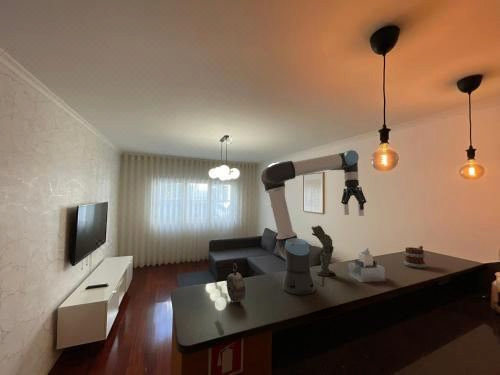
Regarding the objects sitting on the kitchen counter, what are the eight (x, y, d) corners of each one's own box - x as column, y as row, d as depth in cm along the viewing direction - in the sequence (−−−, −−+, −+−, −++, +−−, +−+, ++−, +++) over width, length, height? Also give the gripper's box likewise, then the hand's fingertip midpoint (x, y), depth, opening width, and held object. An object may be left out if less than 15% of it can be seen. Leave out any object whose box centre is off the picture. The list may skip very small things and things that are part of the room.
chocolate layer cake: (398, 265, 138) (399, 242, 140) (412, 266, 143) (412, 244, 145) (418, 270, 127) (419, 245, 129) (432, 271, 132) (432, 247, 134)
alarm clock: (246, 307, 83) (245, 265, 85) (234, 310, 81) (233, 267, 82) (235, 296, 93) (235, 259, 94) (224, 299, 90) (224, 261, 92)
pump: (365, 266, 113) (363, 249, 114) (358, 264, 118) (358, 247, 119) (373, 266, 114) (372, 249, 114) (366, 263, 119) (365, 247, 119)
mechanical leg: (339, 271, 125) (324, 222, 128) (343, 275, 118) (328, 223, 121) (316, 276, 126) (303, 228, 129) (319, 280, 119) (305, 229, 122)
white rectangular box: (361, 282, 109) (360, 263, 110) (348, 275, 120) (348, 258, 120) (388, 280, 111) (387, 262, 112) (373, 273, 122) (372, 257, 123)
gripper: (372, 176, 112) (374, 216, 110) (345, 182, 137) (346, 214, 135) (359, 176, 111) (362, 216, 109) (334, 182, 136) (336, 214, 134)
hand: (353, 215), depth 122 cm, fingers open, 13 cm apart
